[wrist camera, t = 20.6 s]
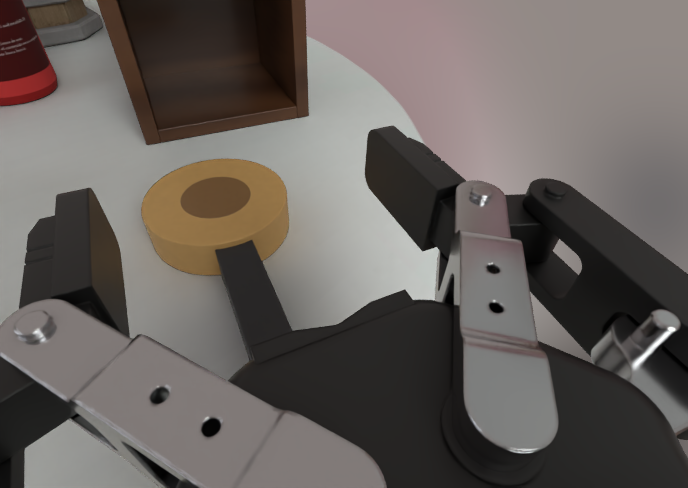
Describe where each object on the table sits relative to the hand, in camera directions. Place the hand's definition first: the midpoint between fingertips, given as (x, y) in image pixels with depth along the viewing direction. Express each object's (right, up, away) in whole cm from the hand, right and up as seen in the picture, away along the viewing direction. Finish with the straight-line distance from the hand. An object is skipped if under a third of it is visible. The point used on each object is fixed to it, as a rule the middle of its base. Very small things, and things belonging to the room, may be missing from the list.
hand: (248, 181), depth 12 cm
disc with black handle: (-3, -4, +12) cm, 13 cm away
